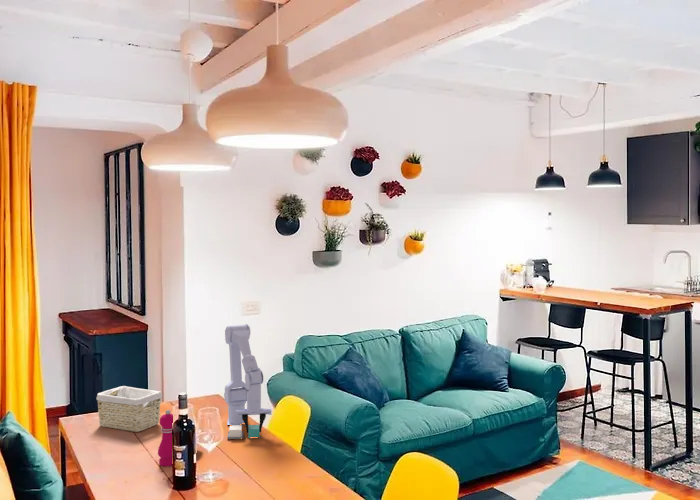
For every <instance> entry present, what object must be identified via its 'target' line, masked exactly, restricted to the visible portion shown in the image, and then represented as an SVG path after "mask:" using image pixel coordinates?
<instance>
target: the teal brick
mask: <svg viewBox="0 0 700 500" xmlns="http://www.w3.org/2000/svg"><path fill="white" fill-rule="evenodd" d="M259 425H260V424H248V433H247V434H248V435H247V437H248V438H250V437H259V438H260V432H259Z"/></svg>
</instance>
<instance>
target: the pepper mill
mask: <svg viewBox="0 0 700 500" xmlns="http://www.w3.org/2000/svg"><path fill="white" fill-rule="evenodd" d="M173 415H174V414H172V413H171V410H170V409H167V410H165V414H162V415H160V417H159V425H160V426H161V427H160V432H161V435H162V436H161V441H160V444H159V446H158V448H157V455H158V457H159V460H158V461H159V462H158V464H159V465H160V466H161V467H172V466H173V465H172V423H173Z"/></svg>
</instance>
